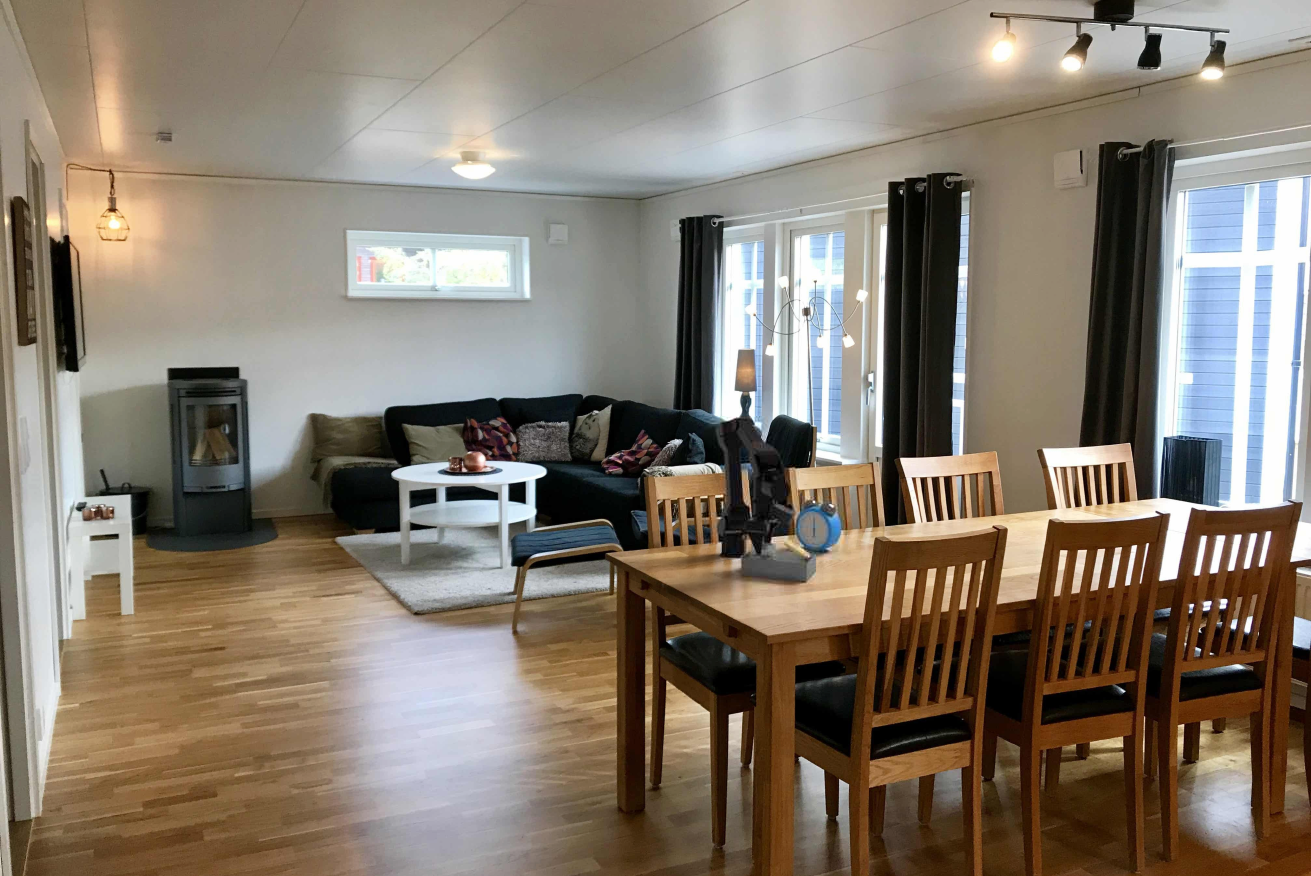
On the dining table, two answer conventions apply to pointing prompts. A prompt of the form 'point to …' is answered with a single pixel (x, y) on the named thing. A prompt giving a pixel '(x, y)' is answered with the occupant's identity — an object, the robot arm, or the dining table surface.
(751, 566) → the block
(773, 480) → the robot arm
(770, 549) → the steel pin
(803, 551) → the brass latch
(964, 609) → the dining table surface
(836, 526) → the alarm clock
